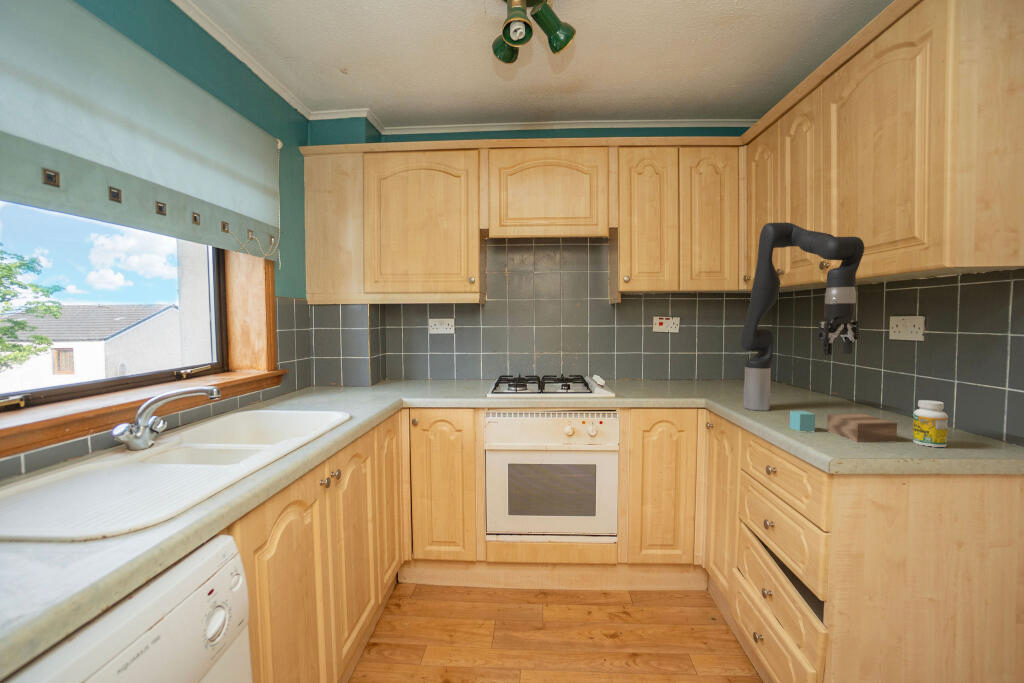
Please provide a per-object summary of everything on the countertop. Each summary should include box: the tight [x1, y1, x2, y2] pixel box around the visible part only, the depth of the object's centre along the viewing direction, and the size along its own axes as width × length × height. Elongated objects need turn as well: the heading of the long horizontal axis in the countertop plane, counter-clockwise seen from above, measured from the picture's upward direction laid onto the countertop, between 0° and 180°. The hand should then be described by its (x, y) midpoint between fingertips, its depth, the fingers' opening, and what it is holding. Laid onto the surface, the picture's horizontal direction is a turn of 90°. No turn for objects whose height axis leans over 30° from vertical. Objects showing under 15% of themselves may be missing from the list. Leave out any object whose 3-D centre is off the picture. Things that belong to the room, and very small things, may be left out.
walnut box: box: [826, 413, 898, 443], centre depth 133 cm, size 12×12×6 cm
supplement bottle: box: [912, 399, 949, 448], centre depth 124 cm, size 7×7×13 cm
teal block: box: [789, 410, 816, 432], centre depth 141 cm, size 5×5×6 cm
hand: (837, 354), depth 130 cm, fingers open, 8 cm apart
